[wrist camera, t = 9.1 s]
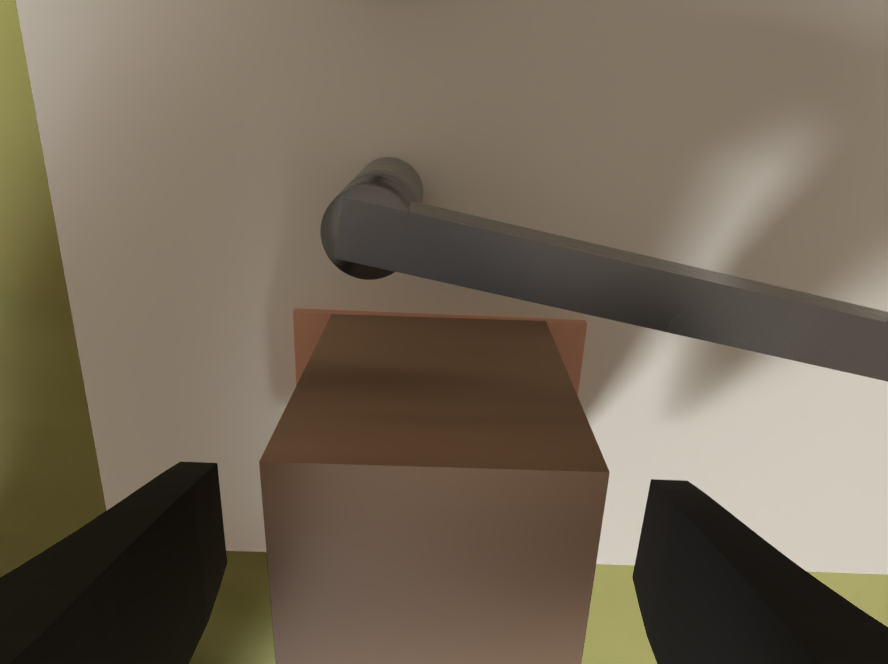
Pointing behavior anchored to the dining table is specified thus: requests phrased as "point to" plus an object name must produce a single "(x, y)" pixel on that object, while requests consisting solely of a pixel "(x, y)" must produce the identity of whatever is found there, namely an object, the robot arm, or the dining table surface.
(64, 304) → the dining table surface
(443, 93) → the board
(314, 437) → the walnut block
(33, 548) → the dining table surface
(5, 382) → the dining table surface
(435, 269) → the bent wire
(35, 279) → the dining table surface
